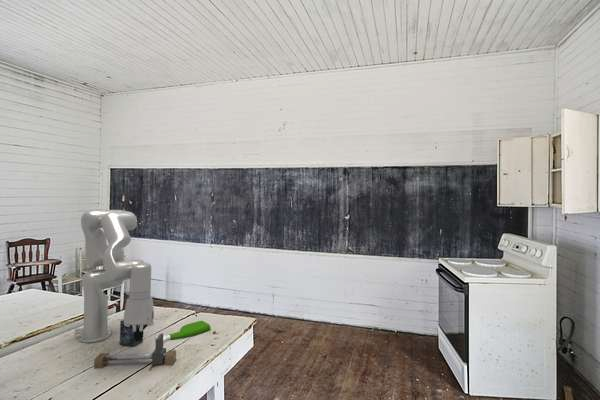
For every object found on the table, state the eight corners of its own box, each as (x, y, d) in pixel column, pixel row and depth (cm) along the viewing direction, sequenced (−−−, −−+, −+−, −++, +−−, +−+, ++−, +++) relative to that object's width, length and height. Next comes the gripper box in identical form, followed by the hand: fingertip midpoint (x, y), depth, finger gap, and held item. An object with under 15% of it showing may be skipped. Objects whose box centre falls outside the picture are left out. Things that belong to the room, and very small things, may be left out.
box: (119, 344, 144) (119, 321, 144) (129, 339, 149) (130, 316, 149) (133, 347, 142) (133, 323, 142) (143, 342, 147) (143, 319, 147)
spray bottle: (212, 331, 162) (163, 347, 144) (201, 325, 169) (153, 339, 152) (212, 325, 162) (163, 340, 144) (201, 319, 169) (153, 333, 152)
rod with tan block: (89, 373, 120) (89, 363, 120) (104, 357, 132) (104, 348, 132) (170, 369, 124) (170, 359, 124) (178, 354, 136) (178, 345, 136)
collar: (151, 365, 126) (151, 339, 126) (156, 358, 132) (156, 333, 132) (162, 365, 126) (162, 339, 126) (166, 357, 132) (166, 333, 132)
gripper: (116, 297, 124) (114, 345, 124) (156, 297, 125) (155, 344, 126) (124, 291, 131) (122, 336, 131) (162, 291, 133) (161, 336, 133)
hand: (138, 340), depth 128 cm, fingers closed
